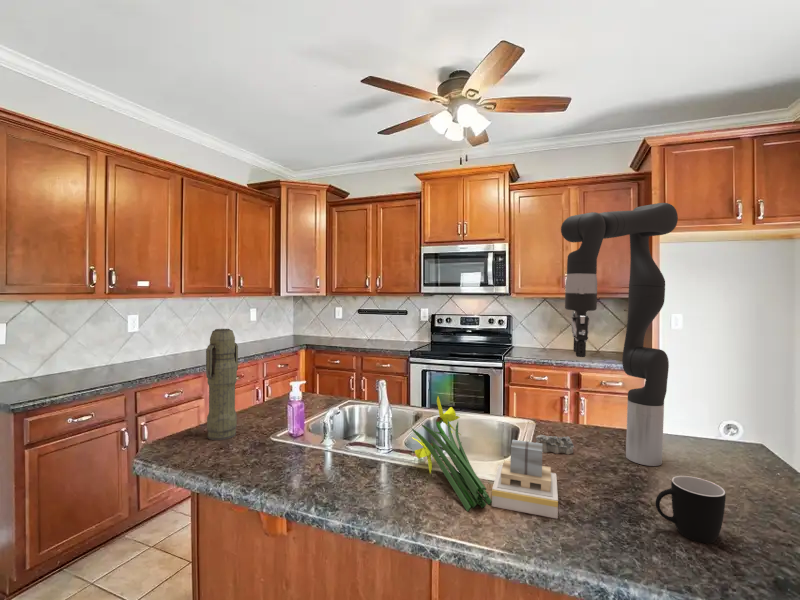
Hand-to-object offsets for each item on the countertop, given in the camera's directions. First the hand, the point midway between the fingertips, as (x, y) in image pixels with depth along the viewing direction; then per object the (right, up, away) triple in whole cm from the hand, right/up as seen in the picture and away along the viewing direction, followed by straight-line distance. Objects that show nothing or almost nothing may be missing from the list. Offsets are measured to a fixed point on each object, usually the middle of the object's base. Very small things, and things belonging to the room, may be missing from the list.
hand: (579, 354), depth 106 cm
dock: (-17, -33, -8) cm, 38 cm away
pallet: (-16, -29, -8) cm, 34 cm away
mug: (+13, -34, -22) cm, 42 cm away
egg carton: (+2, -33, +22) cm, 40 cm away
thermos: (-105, -31, +29) cm, 113 cm away
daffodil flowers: (-32, -33, 0) cm, 46 cm away
